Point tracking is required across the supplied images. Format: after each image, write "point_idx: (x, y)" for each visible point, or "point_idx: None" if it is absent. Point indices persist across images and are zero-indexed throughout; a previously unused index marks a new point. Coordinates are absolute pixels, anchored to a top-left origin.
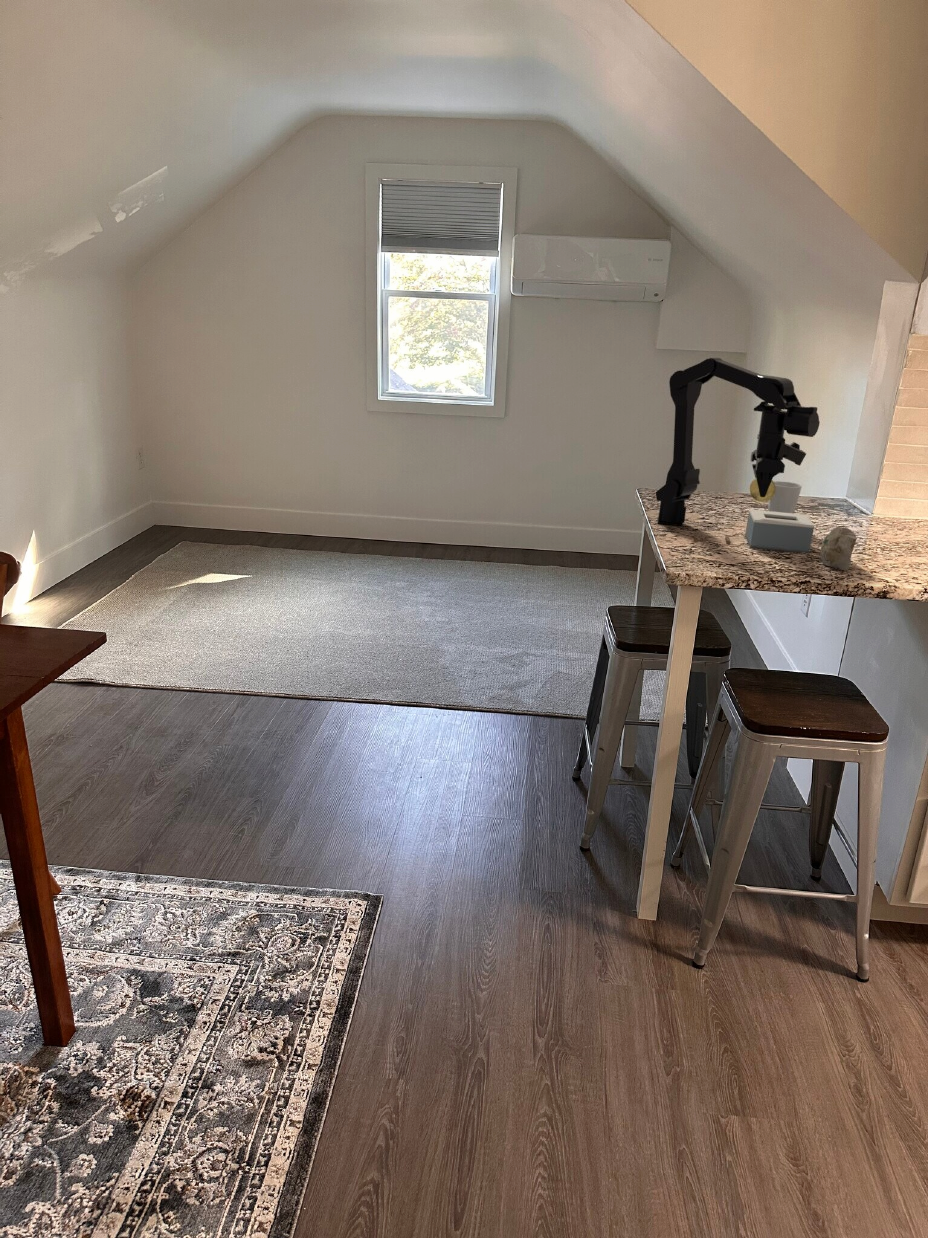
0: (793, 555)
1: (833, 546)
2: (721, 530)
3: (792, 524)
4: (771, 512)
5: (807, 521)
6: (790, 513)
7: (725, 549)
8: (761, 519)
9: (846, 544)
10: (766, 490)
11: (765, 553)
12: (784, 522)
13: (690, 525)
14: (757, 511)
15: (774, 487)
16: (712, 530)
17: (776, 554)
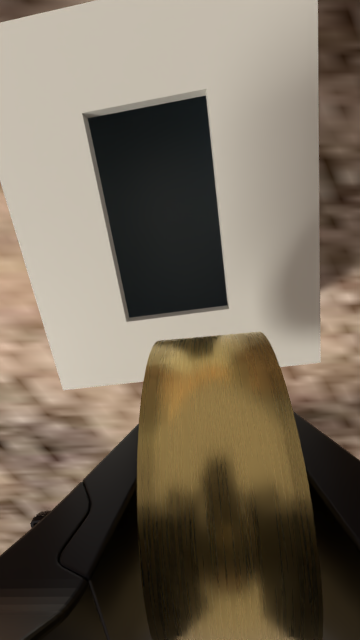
0: (334, 139)
1: None
2: (73, 410)
3: (315, 137)
4: (59, 277)
5: (197, 17)
6: (3, 157)
7: (344, 390)
8: (292, 328)
9: None
10: (312, 434)
11: (347, 257)
12: (316, 193)
13: (70, 491)
14: (87, 351)
15: (279, 379)
16: (93, 434)
17: (346, 214)
